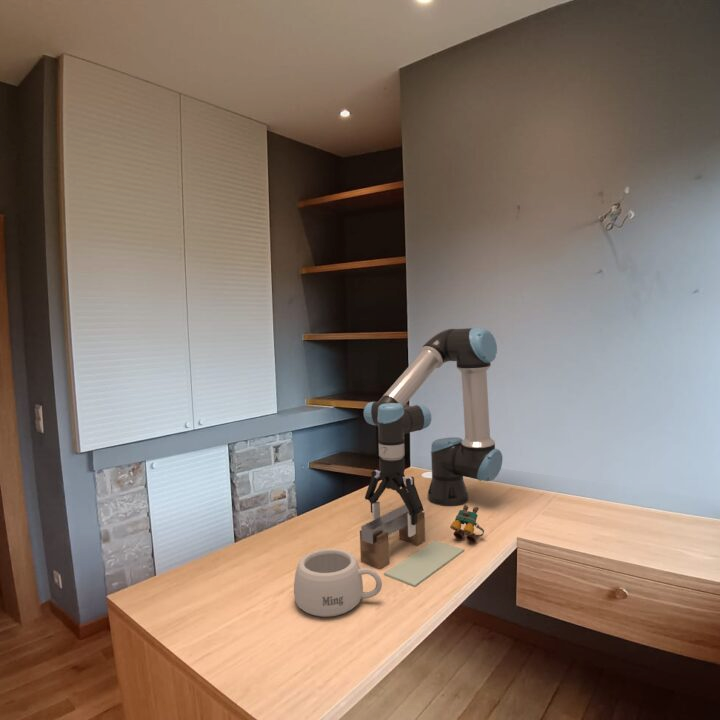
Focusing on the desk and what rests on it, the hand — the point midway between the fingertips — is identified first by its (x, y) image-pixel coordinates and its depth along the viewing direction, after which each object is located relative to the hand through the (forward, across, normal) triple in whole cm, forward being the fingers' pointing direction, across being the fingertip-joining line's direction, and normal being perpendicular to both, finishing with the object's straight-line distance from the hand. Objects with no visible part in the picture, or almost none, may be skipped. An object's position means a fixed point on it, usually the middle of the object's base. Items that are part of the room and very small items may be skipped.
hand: (393, 529), depth 141 cm
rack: (+7, 0, 0) cm, 7 cm away
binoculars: (+7, +13, +19) cm, 24 cm away
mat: (+7, +11, 0) cm, 13 cm away
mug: (+7, +5, -29) cm, 30 cm away
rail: (0, 0, 0) cm, 0 cm away
